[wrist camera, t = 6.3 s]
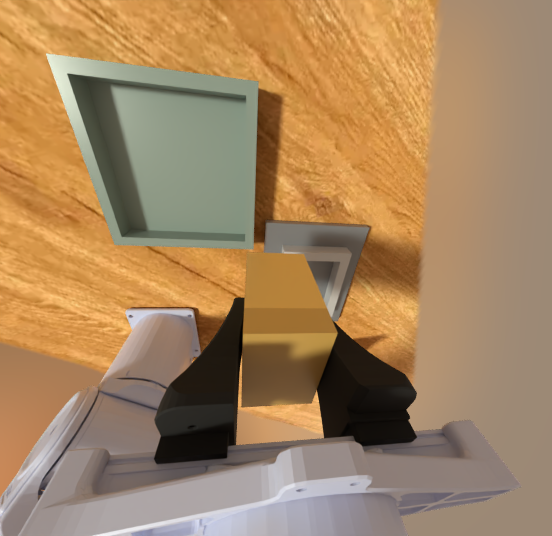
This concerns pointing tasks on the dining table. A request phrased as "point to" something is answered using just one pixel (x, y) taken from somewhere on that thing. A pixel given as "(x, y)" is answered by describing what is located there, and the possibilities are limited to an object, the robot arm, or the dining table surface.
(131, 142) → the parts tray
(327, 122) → the dining table surface
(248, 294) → the yellow rectangular block
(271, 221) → the board
